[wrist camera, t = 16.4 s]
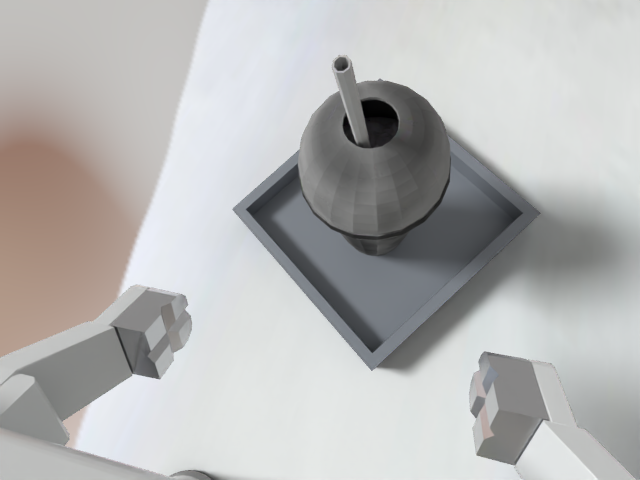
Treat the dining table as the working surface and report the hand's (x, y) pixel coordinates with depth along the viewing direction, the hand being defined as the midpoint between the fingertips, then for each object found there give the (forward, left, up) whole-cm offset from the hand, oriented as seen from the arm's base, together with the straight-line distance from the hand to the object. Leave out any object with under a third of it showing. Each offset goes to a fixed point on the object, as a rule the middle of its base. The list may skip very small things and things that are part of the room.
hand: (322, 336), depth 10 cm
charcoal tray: (-7, -5, -18) cm, 20 cm away
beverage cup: (-6, -5, -18) cm, 20 cm away
